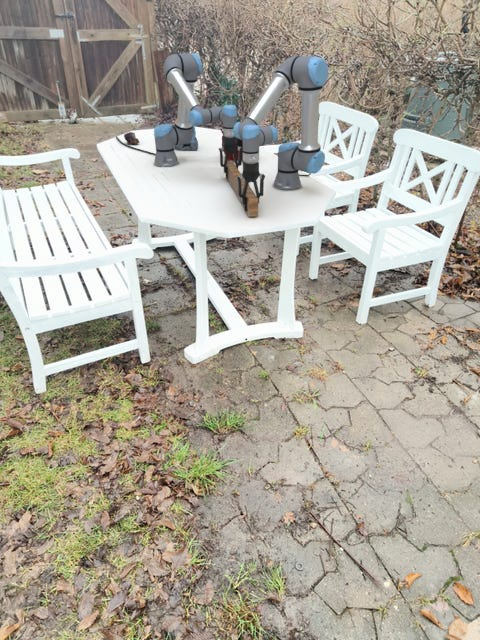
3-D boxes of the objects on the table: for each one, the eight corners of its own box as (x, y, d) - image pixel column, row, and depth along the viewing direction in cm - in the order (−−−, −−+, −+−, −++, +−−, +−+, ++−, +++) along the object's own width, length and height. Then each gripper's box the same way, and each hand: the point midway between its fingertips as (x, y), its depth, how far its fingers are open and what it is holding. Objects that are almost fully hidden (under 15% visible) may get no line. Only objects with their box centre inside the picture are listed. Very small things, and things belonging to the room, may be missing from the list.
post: (225, 176, 268) (225, 161, 263) (232, 175, 268) (232, 161, 263) (249, 216, 215) (249, 199, 210) (258, 216, 216) (258, 198, 211)
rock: (136, 143, 345) (123, 144, 341) (134, 131, 342) (121, 132, 338) (140, 143, 336) (127, 145, 332) (139, 131, 332) (125, 132, 328)
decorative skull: (218, 132, 305) (218, 129, 282) (252, 124, 304) (255, 121, 281) (225, 164, 312) (225, 164, 288) (258, 157, 311) (261, 156, 288)
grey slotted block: (198, 150, 320) (196, 121, 309) (173, 151, 319) (170, 122, 308) (198, 145, 335) (196, 116, 324) (174, 145, 334) (171, 117, 322)
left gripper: (215, 138, 245) (217, 181, 258) (247, 136, 248) (247, 179, 261) (213, 135, 251) (215, 177, 264) (244, 133, 254) (244, 175, 267)
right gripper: (233, 165, 202) (234, 214, 216) (271, 162, 205) (269, 211, 218) (230, 160, 208) (231, 209, 222) (267, 158, 211) (266, 206, 225)
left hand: (231, 178), depth 262 cm, fingers closed on post, 4 cm apart
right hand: (250, 210), depth 220 cm, fingers closed on post, 4 cm apart
